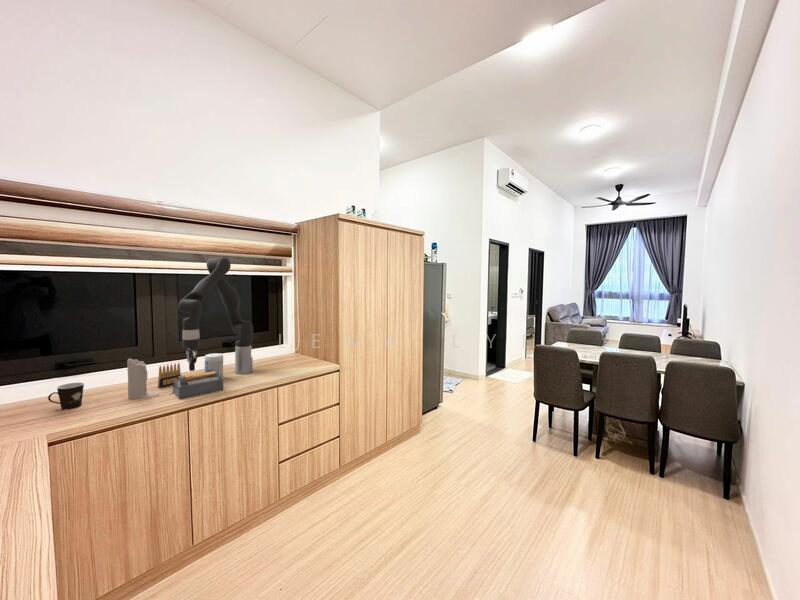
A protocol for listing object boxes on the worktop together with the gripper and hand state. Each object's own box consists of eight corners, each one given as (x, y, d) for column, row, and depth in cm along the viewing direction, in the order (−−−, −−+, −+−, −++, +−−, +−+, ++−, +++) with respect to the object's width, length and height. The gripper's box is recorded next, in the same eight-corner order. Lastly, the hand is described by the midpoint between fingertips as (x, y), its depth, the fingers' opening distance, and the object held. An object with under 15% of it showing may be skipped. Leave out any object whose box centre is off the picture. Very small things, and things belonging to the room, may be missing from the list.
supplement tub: (201, 381, 188) (200, 356, 187) (210, 376, 197) (210, 352, 196) (217, 382, 188) (217, 357, 187) (226, 377, 198) (226, 353, 197)
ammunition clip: (159, 388, 176) (158, 366, 175) (157, 387, 177) (157, 365, 176) (181, 383, 185) (181, 362, 184) (180, 382, 186) (179, 361, 185)
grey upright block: (161, 396, 165) (161, 357, 163) (126, 400, 158) (125, 359, 157) (163, 391, 171) (163, 354, 170) (130, 395, 164) (129, 356, 163)
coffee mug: (83, 401, 155) (82, 381, 154) (86, 406, 149) (85, 385, 148) (47, 409, 146) (46, 387, 145) (48, 414, 140) (47, 391, 139)
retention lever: (214, 372, 180) (214, 369, 180) (217, 374, 177) (217, 371, 177) (183, 377, 170) (183, 375, 170) (186, 379, 167) (185, 377, 167)
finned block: (215, 383, 185) (215, 367, 184) (223, 390, 175) (223, 373, 175) (172, 391, 171) (172, 374, 170) (179, 399, 161) (178, 381, 160)
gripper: (203, 338, 167) (203, 371, 168) (196, 335, 176) (196, 366, 177) (185, 340, 162) (186, 374, 163) (179, 336, 171) (180, 369, 172)
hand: (192, 370), depth 170 cm, fingers closed
